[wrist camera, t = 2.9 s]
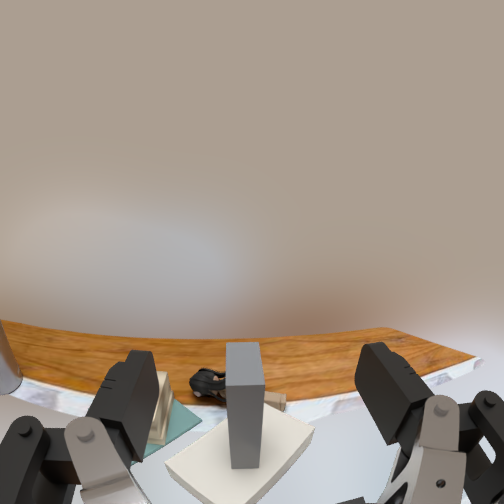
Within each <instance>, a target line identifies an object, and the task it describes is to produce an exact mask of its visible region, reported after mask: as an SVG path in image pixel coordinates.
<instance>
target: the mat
mask: <svg viewBox="0 0 504 504" xmlns="http://www.w3.org/2000/svg"><path fill="white" fill-rule="evenodd" d="M88 410H89V409H88ZM201 421H202V419H200V418H199V417H198V416H196V415H195V414H194V413H192V412H191V411H190V410H188V409H187V408H186V407H184V406H183V405H182V404H181V403H179V402H178V401H177V400H175V399H174V402H173V407H172V412H171V416H170V421H169V426H168V431H167V436H166V442H165V445H167V444H169V443H170V442H172V441H173V440H175V439H176V438H178V437H179V436H181V435H182V434H184V433H185V432H187V431H188V430H190V429H191V428H193V427H194V426H196V425H197V424H199V423H200V422H201ZM165 445H157V444H150V443H147V445H146V449H145V453H144V457H143V459H144V458H146V457H147V456H149V455H151V454H153V453H154V452H156V451H157V450H159V449H161V448H162V447H164V446H165ZM135 463H137V462H135V461H132V463H131V466H132V465H134V464H135Z"/></svg>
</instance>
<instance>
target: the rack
mask: <svg viewBox="0 0 504 504" xmlns="http://www.w3.org/2000/svg"><path fill="white" fill-rule="evenodd" d="M156 372H157V376H158V380H159V398H158V401H157V405H156V409H155V413H154V417H153V421H152V424H151V428H150V432H149V436H148V441H147V443H150V444H157V445H165V442H166V436H167V431H168V426H169V421H170V416H171V412H172V407H173V402H174V393H173V391H171V387H170V383H169V378H168V373H167V372H161V371H156Z"/></svg>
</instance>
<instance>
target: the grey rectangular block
mask: <svg viewBox="0 0 504 504" xmlns="http://www.w3.org/2000/svg"><path fill="white" fill-rule="evenodd" d="M264 395H265V380H264V374H263V368H262V361H261V355H260V349H259V342H240V343H226V402H227V418H228V432H229V445H230V458H231V469H253V468H259V462H260V450H261V437H262V424H263V410H264Z"/></svg>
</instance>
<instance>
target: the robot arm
mask: <svg viewBox="0 0 504 504" xmlns="http://www.w3.org/2000/svg"><path fill="white" fill-rule="evenodd" d="M104 379H105V380H103V382H102V384H101V388H99V390H98V392H97V394H96V396H95V398H94V400H93V402H92V404H91V406H90V408H89V410H88V412H87V414H86V416H85V417H80V418H77V419H75V420H73V421H71V422H70V423H69V424H68V425H67V427H66V428H44V427H43V425H42V424H41V423H40V421H39V420H38V419H37V418H35V417H33V416H22V417H19V418H17V419H16V420H15V421H14V422H13V423H12V424H11V426H10V427H9V429H8V431H7V433H6V435H5V437H4V439H3V440H2V442H1V444H0V504H71V502H72V498H73V495H74V491H75V487H76V485H82V487H83V489H82V490H80V494H81V498H82V500H83V502H84V504H152V503H151V502H150V500H149V499H148V498H147V496H146V495H145V493H144V492H143V490H142V489H141V487H140V486H139V484H138V483H137V481H136V479H135V478H134V476H133V474H132V473H131V471H130V467H131V463H132V461H135V462H141V463H142V462H143V457H144V453H145V449H146V445H147V441H148V436H149V432H150V428H151V424H152V421H153V417H154V413H155V409H156V405H157V401H158V398H159V380H158V376H157V372H156V367H155V363H154V358H153V354H152V352H151V351H140V350H131V351H130V353H129V355H128V357H127V359H126V361H125V362H118V363H116V364H115V365H114V366H113V367H111V368H110V369H109V371H108V373H107V375H106V377H105V378H104ZM21 381H22V373H21V370H20V368H19V366H18V363H17V362H16V359H15V357H14V355H13V352H12V350H11V347H10V345H9V342H8V340H7V337H6V335H5V332H4V329H3V326H2V324H1V321H0V395H5V394H8V393H10V392H12V391H14V390H15V389H16V388H17V387H18V386H19V385H20V383H21ZM355 385H356V388H357V390H358V392H359V394H360V396H361V397H362V399H363V401H364V403H365V405H366V407H367V408H368V410H369V412H370V414H371V416H372V417H373V420H374V421H375V423H376V425H377V427H378V429H379V431H380V433H381V434H382V436H383V438H384V440H385V442H386V444H387V445H391V444H394V443H397V442H399V444H400V447H399V449H398V451H397V454H396V458H395V461H394V464H393V467H392V470H391V474H390V476H389V479H388V482H387V485H386V487H385V489H384V491H383V493H382V495H381V496H380V498H379V499H378V501H377V503H365V501H364V498H363V497H360V498H356V499H353V500H349V501H345V502H341V503H337V504H461V499H462V493H463V488H464V490H465V492H466V494H467V496H468V498H469V500H470V502H471V504H504V401H503V400H502V399H501V398H500V397H499V396H498V395H497V394H496V393H494V392H491V391H481V392H479V393H478V394H477V395H476V396H475V398H474V400H473V402H472V403H464V404H457V403H456V402H455V401H454V400H453V399H452V398H450V397H448V396H444V395H434V394H433V392H432V391H431V390H430V389H429V387H428V386H427V385H426V384H425V383H424V381H423V380H422V379H421V378H420V377H419V375H418V374H416V372H415V371H414V369H413V368H412V367H410V365H409V363H408V362H407V361H406V360H405V359H404V358H403V357H402V356H400V355H398V354H397V353H395V352H391V351H390V350H389V348H388V347H387V346H386V345H385V344H384V343H383V342H376V343H370V344H365V345H363V347H362V350H361V354H360V358H359V361H358V365H357V369H356V372H355ZM483 436H485V438H486V439H487V440H488V442H489V443H490V445H491V446H492V447H493V449H494V451H495V453H496V458H495V461H494V463H493V464H492V463H491V462H490V460H489V459H488V457H487V456H486V454H485V452H484V451H483V449H482V448H481V446H480V445H479V441H480V440H481V439H482V437H483Z"/></svg>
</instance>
